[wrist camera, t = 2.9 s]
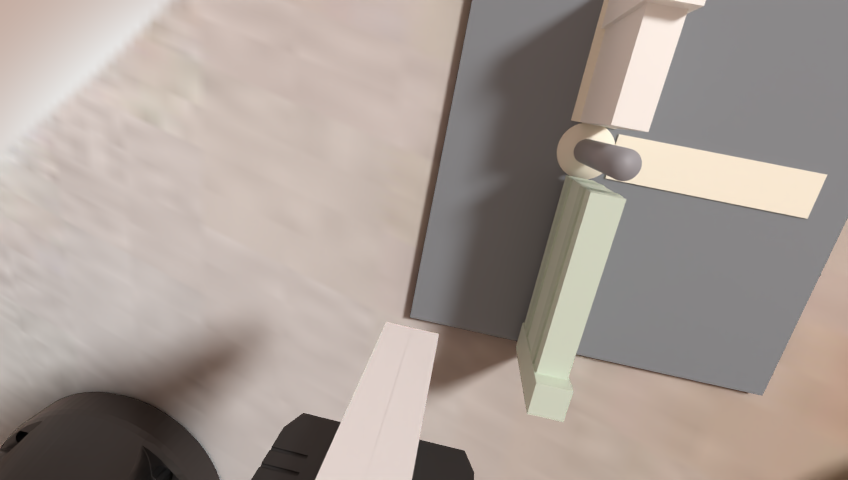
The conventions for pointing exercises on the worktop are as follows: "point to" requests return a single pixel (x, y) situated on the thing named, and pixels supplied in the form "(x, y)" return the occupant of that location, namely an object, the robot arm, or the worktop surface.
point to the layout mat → (649, 182)
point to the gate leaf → (565, 293)
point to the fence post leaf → (630, 77)
